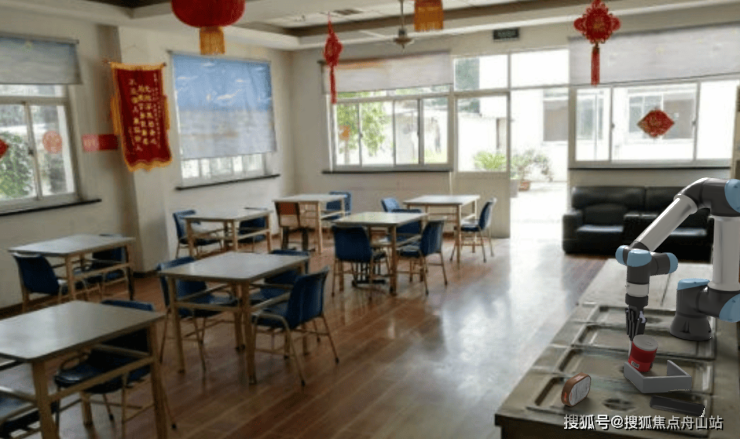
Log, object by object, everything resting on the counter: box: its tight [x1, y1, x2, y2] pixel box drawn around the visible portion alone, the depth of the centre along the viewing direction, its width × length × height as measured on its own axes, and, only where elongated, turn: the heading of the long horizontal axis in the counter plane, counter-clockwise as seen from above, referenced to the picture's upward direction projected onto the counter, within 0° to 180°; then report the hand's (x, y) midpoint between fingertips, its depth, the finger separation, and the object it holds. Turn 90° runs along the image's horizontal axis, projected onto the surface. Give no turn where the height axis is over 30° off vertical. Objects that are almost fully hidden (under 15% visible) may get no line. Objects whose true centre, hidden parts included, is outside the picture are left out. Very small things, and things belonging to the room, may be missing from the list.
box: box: [623, 359, 693, 394], centre depth 198 cm, size 16×14×5 cm
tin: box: [560, 371, 592, 407], centre depth 187 cm, size 15×3×8 cm, turn 133°
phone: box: [649, 394, 706, 418], centre depth 182 cm, size 8×1×15 cm
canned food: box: [627, 334, 659, 373], centre depth 207 cm, size 8×8×11 cm
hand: (633, 356), depth 214 cm, fingers closed
